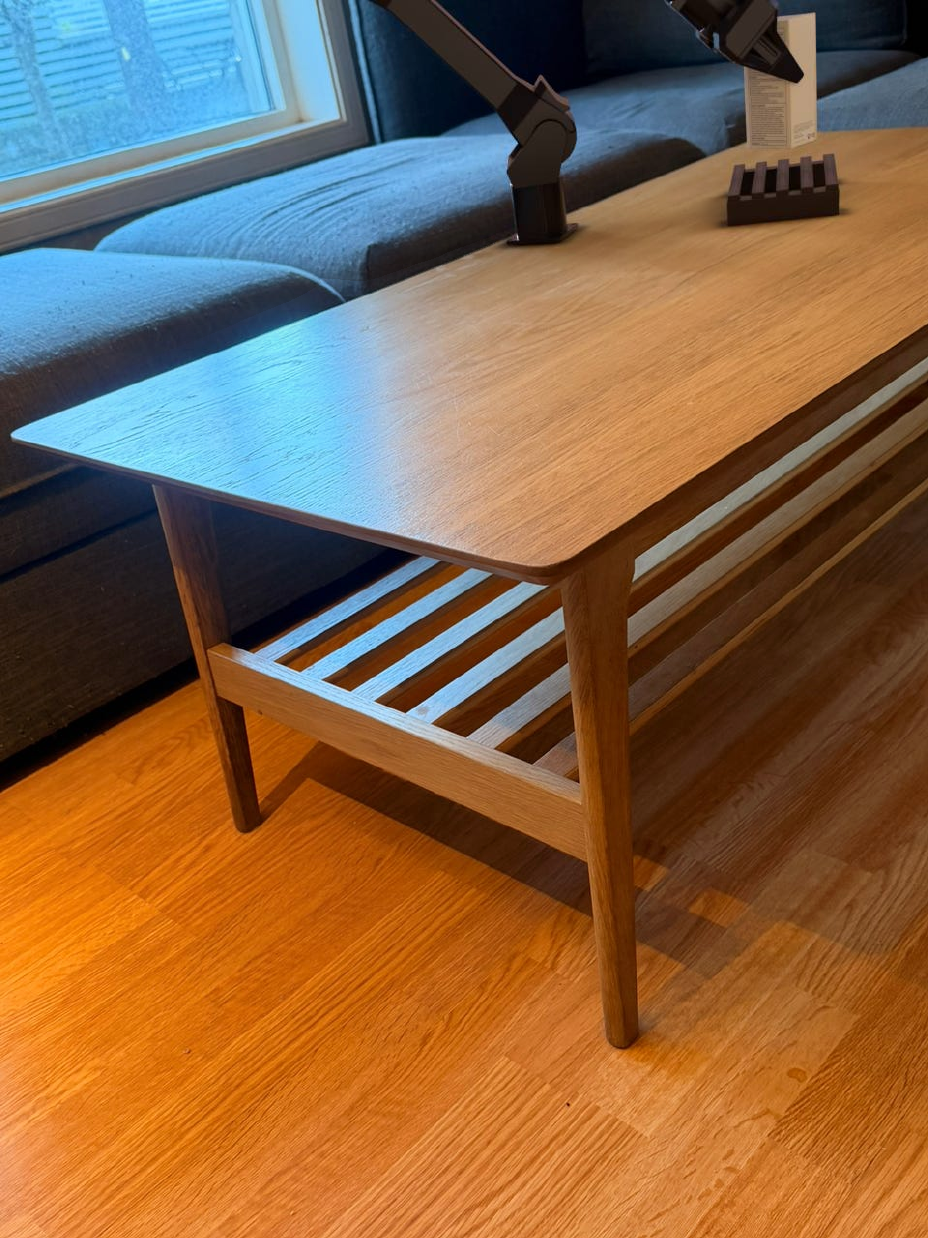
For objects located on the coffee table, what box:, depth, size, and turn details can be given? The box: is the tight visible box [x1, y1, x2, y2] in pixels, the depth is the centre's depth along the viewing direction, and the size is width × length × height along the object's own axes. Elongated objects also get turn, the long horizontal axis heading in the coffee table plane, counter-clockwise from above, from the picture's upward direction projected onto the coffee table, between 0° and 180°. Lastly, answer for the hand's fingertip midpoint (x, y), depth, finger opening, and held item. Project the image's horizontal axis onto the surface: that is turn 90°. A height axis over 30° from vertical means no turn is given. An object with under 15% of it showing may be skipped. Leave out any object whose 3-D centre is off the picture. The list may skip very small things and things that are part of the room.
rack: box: [726, 152, 841, 227], centre depth 121 cm, size 16×11×3 cm
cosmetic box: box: [743, 12, 818, 150], centre depth 116 cm, size 6×4×12 cm
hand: (793, 75), depth 116 cm, fingers closed on cosmetic box, 7 cm apart
